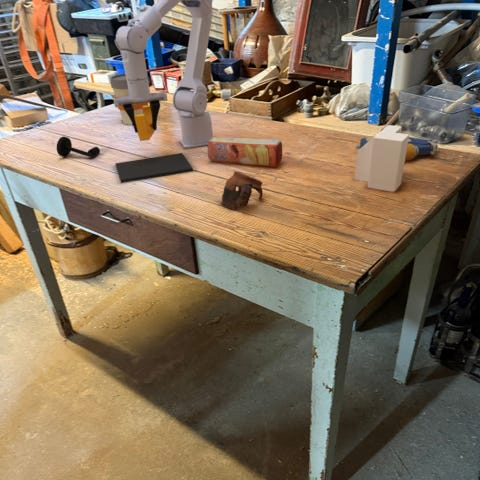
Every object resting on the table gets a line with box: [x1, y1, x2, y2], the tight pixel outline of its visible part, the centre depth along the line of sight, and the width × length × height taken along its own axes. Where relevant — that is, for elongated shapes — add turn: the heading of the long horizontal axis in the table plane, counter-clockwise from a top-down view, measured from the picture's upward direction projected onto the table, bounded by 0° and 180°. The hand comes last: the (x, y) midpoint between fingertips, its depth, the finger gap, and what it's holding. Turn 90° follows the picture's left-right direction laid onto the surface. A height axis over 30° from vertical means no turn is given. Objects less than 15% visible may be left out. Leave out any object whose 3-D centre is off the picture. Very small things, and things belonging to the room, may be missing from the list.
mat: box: [115, 152, 194, 183], centre depth 135 cm, size 20×14×1 cm
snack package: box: [207, 136, 283, 168], centre depth 133 cm, size 21×7×7 cm, turn 67°
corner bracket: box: [354, 124, 410, 193], centre depth 116 cm, size 11×11×12 cm
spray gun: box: [355, 135, 439, 162], centre depth 133 cm, size 21×4×15 cm
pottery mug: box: [221, 170, 263, 211], centre depth 111 cm, size 12×10×8 cm
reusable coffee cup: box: [109, 73, 149, 126], centre depth 170 cm, size 13×13×15 cm
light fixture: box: [56, 136, 101, 159], centre depth 147 cm, size 6×11×13 cm
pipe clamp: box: [134, 104, 156, 142], centre depth 135 cm, size 12×4×6 cm, turn 178°
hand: (145, 130), depth 136 cm, fingers closed on pipe clamp, 5 cm apart
